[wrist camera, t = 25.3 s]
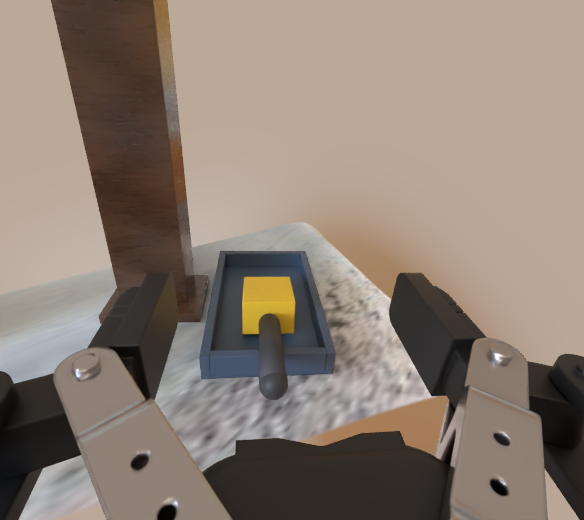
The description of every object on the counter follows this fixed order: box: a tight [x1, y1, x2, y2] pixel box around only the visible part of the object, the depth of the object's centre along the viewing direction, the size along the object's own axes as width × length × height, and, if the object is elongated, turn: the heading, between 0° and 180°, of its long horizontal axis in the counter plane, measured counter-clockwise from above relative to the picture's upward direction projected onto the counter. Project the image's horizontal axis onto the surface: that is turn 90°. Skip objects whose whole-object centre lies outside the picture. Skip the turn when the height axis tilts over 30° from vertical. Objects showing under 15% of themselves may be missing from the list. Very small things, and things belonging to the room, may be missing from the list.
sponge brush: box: [242, 277, 296, 400], centre depth 30 cm, size 5×16×4 cm, turn 6°
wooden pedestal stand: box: [51, 0, 209, 324], centre depth 31 cm, size 10×8×32 cm
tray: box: [199, 251, 336, 379], centre depth 38 cm, size 12×20×2 cm, turn 6°
